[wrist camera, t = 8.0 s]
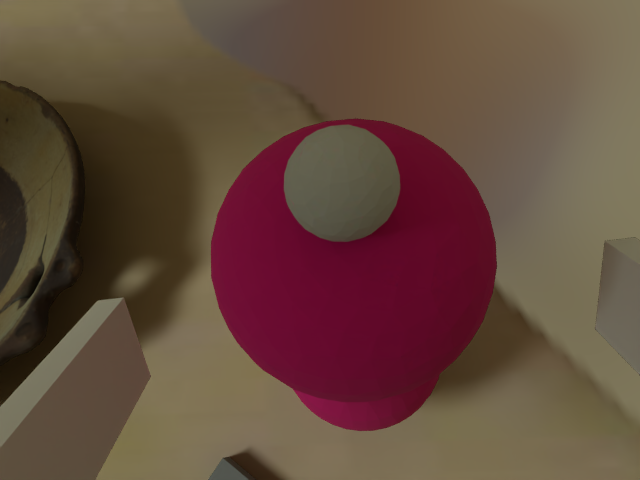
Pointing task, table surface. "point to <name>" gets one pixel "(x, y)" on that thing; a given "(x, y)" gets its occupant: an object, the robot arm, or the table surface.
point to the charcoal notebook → (230, 471)
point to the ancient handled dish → (35, 216)
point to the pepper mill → (354, 267)
